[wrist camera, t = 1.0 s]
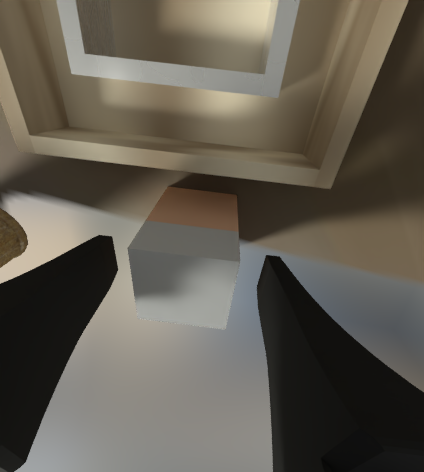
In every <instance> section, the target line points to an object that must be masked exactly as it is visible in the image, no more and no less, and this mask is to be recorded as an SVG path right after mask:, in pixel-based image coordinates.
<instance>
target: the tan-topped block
mask: <svg viewBox="0 0 424 472" xmlns="http://www.w3.org/2000/svg"><path fill="white" fill-rule="evenodd" d="M128 254H129V261H130V268H131V274H132V281H133V289H134V296H135V303H136V310H137V317H138V319H146V320H155V321H162V322H170V323H178V324H186V325H194V326H202V327H210V328H217V329H226V324H227V320H228V315H229V311H230V305H231V301H232V297H233V292H234V287H235V283H236V278H237V274H238V269H239V264H240V250H239V229H238V208H237V195H234V194H226V193H217V192H209V191H201V190H193V189H184V188H176V187H167V189H166V190H165V192H164V194H163V195H162V197H161V198H160V200H159V201H158V203H157V204H156V206H155V207H154V209H153V210H152V212H151V213H150V215H149V216H148V218H147V219H146V221H145V223H144V224H143V226H142V227H141V229H140V230H139V232H138V233H137V235H136V236H135V238H134V239H133V241H132V243H131V244H130V246H129V247H128Z"/></svg>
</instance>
